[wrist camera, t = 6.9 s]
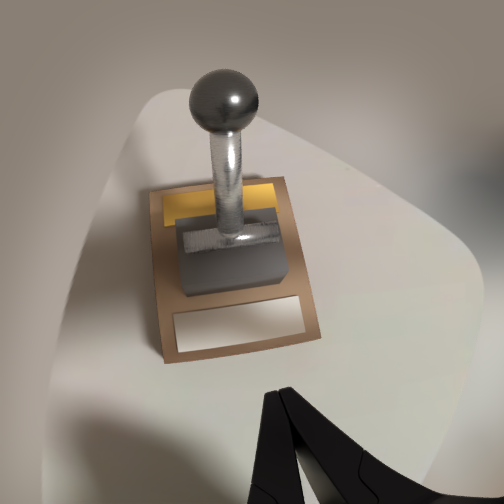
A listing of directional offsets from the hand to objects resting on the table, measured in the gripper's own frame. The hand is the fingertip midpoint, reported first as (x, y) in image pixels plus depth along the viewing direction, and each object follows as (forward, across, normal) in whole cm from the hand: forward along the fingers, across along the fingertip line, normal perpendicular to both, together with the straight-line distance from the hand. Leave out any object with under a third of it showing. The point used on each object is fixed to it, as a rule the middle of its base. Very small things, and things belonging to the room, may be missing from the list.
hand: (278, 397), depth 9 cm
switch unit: (+14, 0, +2) cm, 14 cm away
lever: (+10, 0, -2) cm, 10 cm away
